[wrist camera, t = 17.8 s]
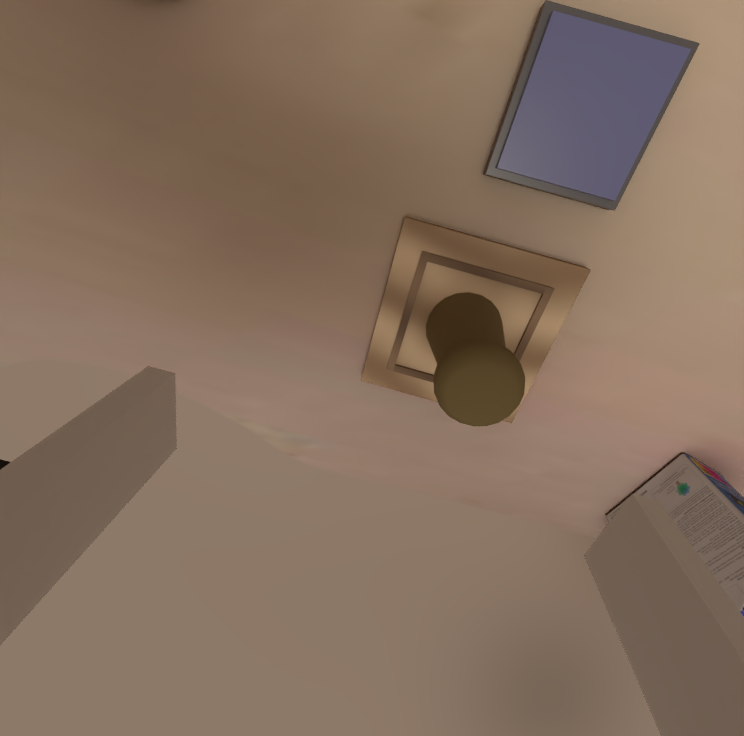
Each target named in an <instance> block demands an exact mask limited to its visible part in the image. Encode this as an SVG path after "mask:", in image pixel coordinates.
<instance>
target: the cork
mask: <svg viewBox="0 0 744 736" xmlns="http://www.w3.org/2000/svg"><path fill="white" fill-rule="evenodd" d="M426 337H427V340H428V342H429V345H430V347H431V350H432V352H433V355H434V357H435V360H436V362H437V366H436V370H435V373H434V376H433V382H434V394H435V396H436V398H437V401H438V403H439V405H440V407H441V408H442V409H443V410H444V411H445V412H446V414H447V415H448V416H449V417H451V418H453V419H455V420H456V421H458V422H460V423H463V424H467V425H471V426H488V425H492V424H495V423H498V422H500V421H502V420H503V419H505V418H507V417H509V416H510V415H511V414H512V412H513V411H514V410H515V409H516V408H517V407H518V406H519V405H520V402H521V400H522V398H523V396H524V391H525V375H524V371H523V368H522V365H521V363H520V362H519V360H518V359H517V358H516V356H515V355H514V354H513V353H512V351H511V350H509V349H507V348H506V345H505V338H504V331H503V324H502V319H501V316H500V313H499V310H498V309H497V308H496V306H495V305H494V304H493V303H492V301H490V300H489V299H487V298H485V297H484V296H482V295H479V294H475V293H471V292H465V293H456V294H453V295H451V296H448V297H446V298H444V299H443V300H442V301H440V302H439V303H438V304H437V305H435V307H434V308H433V310H432V311H431V313H430V314H429V316H428V320H427V323H426Z"/></svg>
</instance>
